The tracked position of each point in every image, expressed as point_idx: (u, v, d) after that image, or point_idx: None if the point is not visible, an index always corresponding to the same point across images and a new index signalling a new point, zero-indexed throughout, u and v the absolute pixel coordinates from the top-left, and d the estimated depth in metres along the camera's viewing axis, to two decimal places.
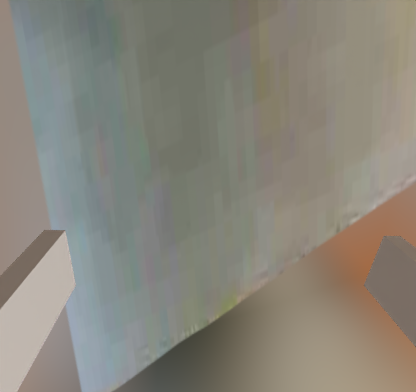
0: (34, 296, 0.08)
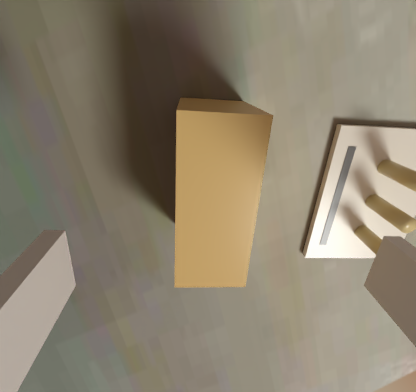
0: (34, 296, 0.08)
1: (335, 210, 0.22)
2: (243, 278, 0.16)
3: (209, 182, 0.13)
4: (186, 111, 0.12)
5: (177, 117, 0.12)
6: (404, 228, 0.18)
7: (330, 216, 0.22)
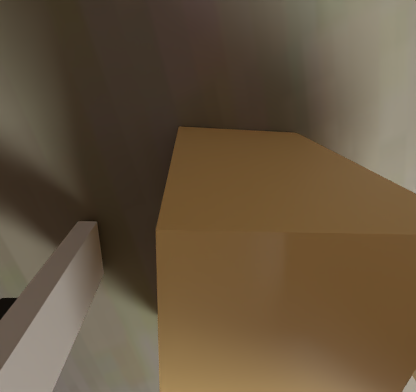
0: (76, 280, 0.09)
1: None
2: None
3: None
4: (193, 232, 0.03)
5: (160, 251, 0.03)
6: None
7: None
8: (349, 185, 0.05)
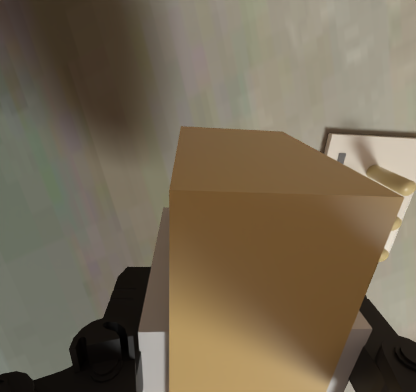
0: None
1: None
2: None
3: (242, 327, 0.06)
4: (194, 192, 0.05)
5: (172, 206, 0.05)
6: None
7: None
8: (312, 168, 0.06)
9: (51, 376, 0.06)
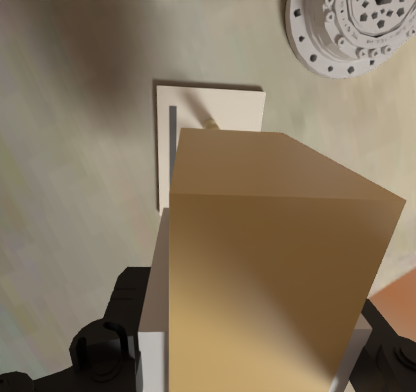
0: None
1: None
2: None
3: (243, 330, 0.06)
4: (194, 195, 0.05)
5: (171, 209, 0.05)
6: None
7: None
8: (313, 170, 0.06)
9: (51, 376, 0.06)
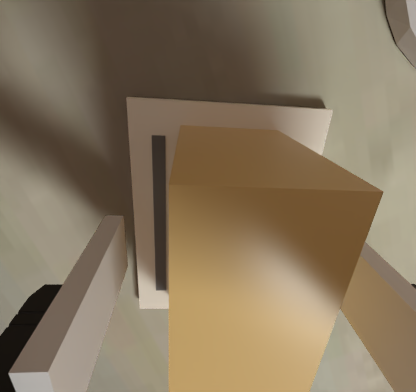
0: (109, 269, 0.09)
1: (164, 239, 0.14)
2: None
3: (236, 312, 0.06)
4: (191, 186, 0.05)
5: (171, 199, 0.05)
6: None
7: (159, 248, 0.14)
8: (302, 165, 0.07)
9: None
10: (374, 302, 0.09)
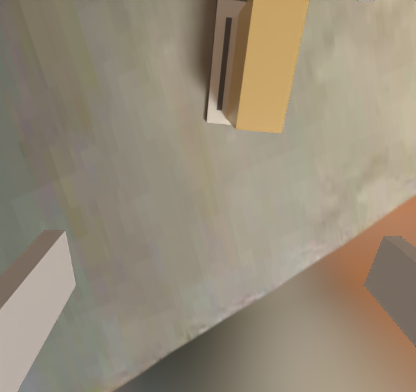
0: (34, 296, 0.08)
1: (224, 76, 0.28)
2: (281, 125, 0.24)
3: (267, 44, 0.21)
4: None
5: None
6: None
7: (221, 82, 0.29)
8: None
9: None
10: None
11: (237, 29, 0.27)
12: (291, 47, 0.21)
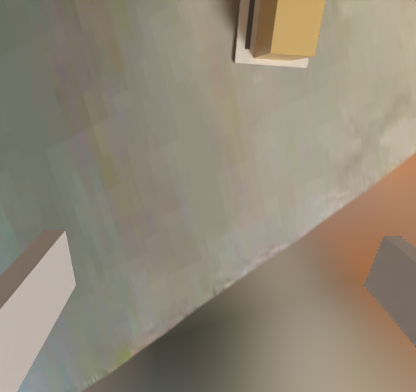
0: (34, 296, 0.08)
1: (252, 13, 0.29)
2: (314, 48, 0.25)
3: None
4: None
5: None
6: None
7: (249, 19, 0.29)
8: None
9: None
10: None
11: None
12: None
